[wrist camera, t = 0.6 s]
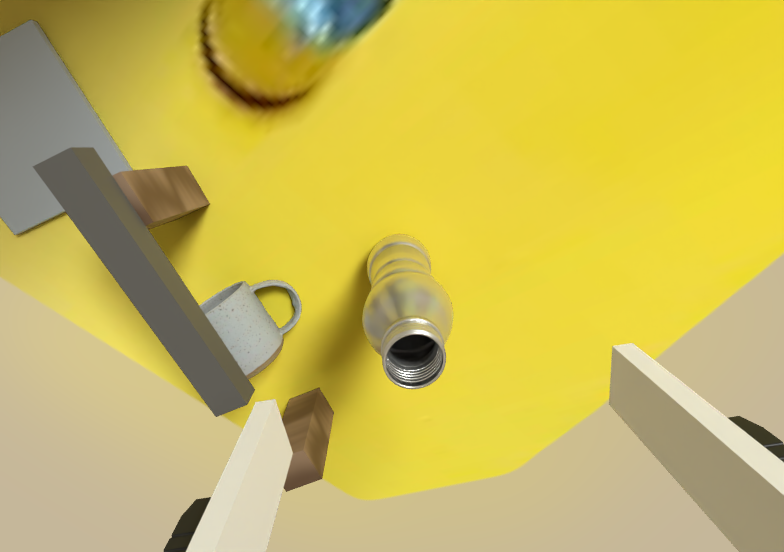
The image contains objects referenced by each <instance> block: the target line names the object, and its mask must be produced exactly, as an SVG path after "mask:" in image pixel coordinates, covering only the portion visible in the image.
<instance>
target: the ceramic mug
mask: <svg viewBox="0 0 784 552" xmlns="http://www.w3.org/2000/svg"><path fill="white" fill-rule="evenodd" d="M268 286H280V287H284V288H286V290H287V291H288V293H289V295H290V297H291V299H292V305H293V306H294V307H295V313H294V316H293V317H292V318H291V319H290V321H289V322H288V323H287V324H286V325H285V326H283V327H282V328H278V327H277V325H276V323H275V322H274V321H273V319H272V318H271V316H270V315H269V314H268V313H267V311H266V310H265V308H264V306H263V305H262V303H261V302H260V301H259V299H258V297H257V296H256V295H255V293H254V291H255V290H257V289H259V288H263V287H268ZM199 306H200V308H201V309H202V311H203V312H204V314H205V315H206V317H207V318H208V320H209V321H210V323H211V324H212V326H213V327H214V329H215V330H216V332H217V333H218V335H219V336H220V338H221V339H222V341H223V342H224V344H225V345H226V347H227V348H228V350H229V351H230V353H231V354H232V356H233V357H234V359H235V360H236V362H237V363H238V365H239V366H240V368H241V369H242V371H243V372H244V374H245V375H246V377H247V378H248V379H250V378H252V377H253V376H255V375H256V374H258V373H259V372H261V371H262V370H263V369H265V368H266V367H267V366H268V365H269V364H270V363H271V362H272V361H273V360H274V359H275V358H276V357H277V356H278V354H279V353H280V351H281V349H282V346H283V334H284V333H286V332H288V331H289V330H290V329H291V328H292V327H293V326H294V325H295V324H296V323H297V321H298V320H299V318H300V314H301V301H300V298H299V296H298V294H297V292H296V291H295V290H294V289H293V287H291V286H290V285H289V284H287V283H285V282H283V281H279V280H267V281H263V282H260V283H257V284H255V285H253V286H249V285H248V284H247V283H246V282H245V281H241V282H238V283H235V284H233V285H232V286H229V287H227V288H225V289H224V290H222V291H220V292H219V293H217V294H215V295H214V296H212V297H211V298H209V299H208V300H206V301H205V302H203V303H202V304H201V305H199Z"/></svg>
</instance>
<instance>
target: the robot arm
mask: <svg viewBox="0 0 784 552" xmlns="http://www.w3.org/2000/svg"><path fill="white" fill-rule="evenodd" d="M609 405H610V406H611V407H612V408H613V409H614V411H615V412H616V413H617V414H618V415H619V416H620V417H621V418H622V419H623V421H624V422H625V423H626V424H627V425H628V426H629V428H630V429H631V430H632V431H633V432H634V433H635V434H636V435H637V437H639V439H640V440H641V441H642V442H643V443H644V445H645V446H646V447H647V448H648V449H649V450H650V451H651V452H652V454H653V455H654V456H655V457H656V458H657V459H658V460H659V461H660V463H661V464H662V465H663V466H664V467H665V468H666V469H667V471H668V472H669V473H670V474H671V475H672V476H673V477H674V479H675V480H676V481H677V482H678V483H679V484H680V485H681V486H682V488H683V489H684V490H685V491H686V492H687V493H688V494H689V495H690V497H691V498H692V499H693V500H694V501H695V502H696V503H697V504H698V506H699V507H700V508H701V509H702V510H703V511H704V512H705V514H706V515H707V516H708V517H709V518H710V519H711V520H712V522H713V523H714V524H715V525H716V526H717V527H718V528H719V530H720V531H721V532H722V533H723V534H724V535H725V536H726V537H727V539H728V540H729V541H730V542H731V543H732V544H733V545H734V547H735V548H736V549H737V550H738V551H739V552H784V444H783V442H782V441H781V440H779V439H778V438H777V437H775V436H774V435H772V434H771V433H770V432H768V431H767V430H766V429H764V428H763V427H761V426H759V425H757V424H754V423H753V422H751V421H748V420H746V419H744V418H742V417H740V416H736V417H730V418H727V417H726V416H724V415H723V414H722V413H721V412H719V411H718V410H716V409H715V408H714V407H713V406H712V405H710V404H709V403H708V402H707V401H705V400H704V399H703V398H701V397H700V396H699V395H698V394H696V393H695V392H694V391H693V390H691V389H690V388H689V387H687V386H686V385H685V384H684V383H682V382H681V381H680V380H679V379H677V378H676V377H675V376H674V375H672V374H671V373H670V372H668V371H667V370H666V369H665V368H663V367H662V366H661V365H660V364H658V363H657V362H656V361H655V360H653V359H652V358H651V357H650V356H648V355H647V354H646V353H644V352H643V351H642V350H641V349H639V348H638V347H637V346H636V345H634V344H633V343H630V344H624V345H617V346H612V363H611V380H610V398H609ZM292 455H293V452H292V449H291V446H290V443H289V440H288V436H287V433H286V430H285V427H284V424H283V421H282V418H281V415H280V412H279V409H278V406H277V403H276V400H275V399H273V400H266V401H260V402H256V403H255V405H254V407H253V409H252V412H251V414H250V416H249V418H248V420H247V422H246V424H245V426H244V429H243V431H242V433H241V435H240V437H239V439H238V441H237V444H236V446H235V448H234V450H233V452H232V454H231V457H230V458H229V461H228V463H227V465H226V467H225V469H224V471H223V473H222V475H221V478H220V480H219V482H218V484H217V486H216V488H215V491H214V493H213V495H212V497H209V498H203V499H196V500H195V501H194V503H193V504H192V505H191V506H190V507H189V508H188V510H187V511H186V512H185V513H184V514H183V515H182V516H181V518H180V520H179V522H178V524H177V526H176V528H175V530H174V532H173V533H172V538H170V539H169V541H168V543H167V545H166V547H165V549H164V552H266V550H267V546H268V543H269V539H270V535H271V531H272V528H273V524H274V520H275V517H276V513H277V510H278V506H279V502H280V498H281V495H282V491H283V488H284V484H285V480H286V477H287V473H288V469H289V466H290V462H291V458H292Z"/></svg>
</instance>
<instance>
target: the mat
mask: <svg viewBox="0 0 784 552" xmlns="http://www.w3.org/2000/svg"><path fill="white" fill-rule="evenodd" d="M70 147H93V148H94V149H95V151H96V152H97V154H98V155H99V157H100V158H101V160H102V161H103V163H104V164H105V166H106V167H107V169H108V170H109V172H110V173H111V175H114V174H116V173H119V172H122V171H133V170H132V168H131V167H130V165H129V164H128V162H127V160H126V159H125V157H124V156H123V154H122V153H121V151H120V150H119V148H118V147H117V145H116V143H115V142H114V140H113V139H112V137H111V136H110V134H109V133H108V131H107V129H106V128H105V126H104V125H103V123H102V122H101V120H100V119H99V117H98V116H97V114H96V112H95V111H94V109H93V108H92V106H91V105H90V103H89V102H88V100H87V98H86V97H85V95H84V94H83V92H82V91H81V89H80V88H79V86H78V85H77V83H76V81H75V80H74V78H73V77H72V75H71V74H70V72H69V71H68V69H67V68H66V66H65V64H64V63H63V61H62V60H61V58H60V57H59V55H58V54H57V52H56V50H55V49H54V47H53V46H52V44H51V43H50V41H49V40H48V38H47V37H46V35H45V33H44V32H43V30H42V29H41V27H40V26H39V24H38V23H37V22H36V21H33V20H29V21H27V22H26V23H24V24H22V25H20V26H18V27H17V28H15V29H13V30H11V31H9V32H8V33H6V34H4V35H2V36H0V217H1V218H2V220H3V221H4V222H5V223H6V225H7V226H8V227H9V228H10V230H11V231H12V232H13V233H14V235H17V234H21V233H23V232H25V231H27V230H29V229H31V228H33V227H35V226H37V225H39V224H41V223H43V222H45V221H48V220H50V219H52V218H54V217H56V216H58V215H60V214H62V213H64V212H65V210H64V209H63V207H62V206H61V205H60V203H59V202H58V201H57V199H56V198H55V197H54V195H53V194H52V192H51V191H50V190H49V188H48V187H47V186H46V184H45V183H44V182H43V180H42V179H41V177H40V176H39V175H38V173H37V172H36V171H35V169H34V168H33V166H35V165H37V164H39V163H41V162H43V161H45V160H46V159H48V158H50V157H52V156H54V155H56V154H58V153H60V152H62V151H64V150H66V149H68V148H70Z"/></svg>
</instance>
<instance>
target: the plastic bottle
mask: <svg viewBox="0 0 784 552" xmlns="http://www.w3.org/2000/svg"><path fill="white" fill-rule="evenodd" d="M367 274H368V278H369V281H370V283H371V285H372V288H371V291H370V293H369V295H368V297H367V300H366V302H365V305H364V309H363V316H362V322H363V329H364V332H365V335H366V337H367V339H368V341H369V342H370V344H371V346H372V347H373V348H374V349H375V351H376V352H377V353H379V354H380V355H381V356H382V362H383V368H384V371H385V373H386V375H387V377H388V378H389V379H390V380H391V381H392V382H393V383H394V384H396V385H398V386H400V387H403V388H406V389H419V388H423V387H426V386H428V385H430V384H431V383H433V382H434V381H435V380H437V379H438V378H439V376H440V375H441V374H442V372H443V370H444V367H445V363H446V353H445V349H444V344H445V343H446V341H447V340H448V337H449V335H450V332H451V328H452V323H453V308H452V303H451V301H450V298H449V296H448V294H447V293H446V292H445V290H444V289H443V287H442V286H441V285H440V284H439V283H438V282H437V281H436V280H435V279H434V278H433V277H432V276H431V261H430V256H429V254H428V251H427V249H426V248H425V247H424V245H423V244H422V243H421V242H420V241H418V240H417V239H415V238H413V237H411V236H408V235H404V234H394V235H390V236H388V237H385V238H383V239H382V240H381V241H380V242H378V243H377V245H376V246H375V247H374V248H373V249H372V251H371V253H370V255H369V258H368V261H367Z"/></svg>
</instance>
